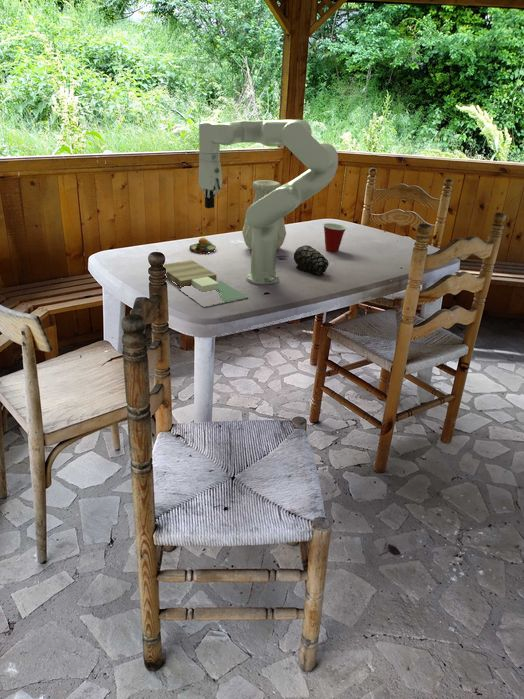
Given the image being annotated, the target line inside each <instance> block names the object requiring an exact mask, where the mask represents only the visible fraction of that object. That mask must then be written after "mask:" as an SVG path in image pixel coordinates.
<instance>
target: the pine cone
mask: <svg viewBox="0 0 524 699" xmlns="http://www.w3.org/2000/svg"><path fill="white" fill-rule="evenodd" d="M293 260H294V262H295V264H296V266H295V269H297V270H298V271H300V272H303V273H305V274H307V275H310V276H313V277H316V278H322V277H324V276H325V273H326V271H327V269H328V267H329V264H330V263H329V261H328V259H327V258H326V257H325V256H324V254H322V253H321V252H320V251H319V250H317V249H315V248H314V247H312V245H307V244H306V245H302V246H299V247H297V249H296V250H295V251H294V253H293Z"/></svg>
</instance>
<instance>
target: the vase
mask: <svg viewBox="0 0 524 699" xmlns="http://www.w3.org/2000/svg"><path fill="white" fill-rule="evenodd" d="M251 186H252V189H253V190H254V191H255V194H254V198H253V202H252V203H251V205H252V204H253V203H255V202H256V201H258V200H259V199H261V198H263V197H264V196H266V195H268V194H269V193H271V192H272V191H274V190H275V189H277V188H278V187H280V186H281V183H280V182H278V181H275V180H267V179H264V180H260V179H259V180H255V181H253V182H252V184H251ZM252 231H253V228H252V227H250V226H249V225H248V223H247V221H246V217H245V218H244V224H243V227H242V231H241V233H242V237H243V240H244V244H245V245H246V246H247V248H249V249H250V250H252ZM286 235H287V231H286V226H285V216H284V217H283V218H281V219H279V223H278V231H277V245H276V251H277V250H278V249H280V248H281V247H282V246H283V244H284V241H285V239H286Z"/></svg>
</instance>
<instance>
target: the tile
mask: <svg viewBox="0 0 524 699" xmlns="http://www.w3.org/2000/svg"><path fill="white" fill-rule="evenodd" d="M218 282H219V281H217V280H216V281H214V280H213V279H211V278H209V277H203V278H198V279H192V286H193V287H194V288H196V289H198V290H199V291H201V292H207V291H212V290H218V289H219V283H218Z"/></svg>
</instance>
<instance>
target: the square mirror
mask: <svg viewBox="0 0 524 699" xmlns="http://www.w3.org/2000/svg"><path fill="white" fill-rule="evenodd" d="M217 282H218V283H219V289H218V291H217V290H216V291H217V292H219V293H221V294H222V295H221V294H219V293H218V294H219V296H220V295H221V296H220V299H221V298H222V301H224V302H228V301H234V300H238V301H242V300H241V299H243V300H246V298H248V299H249V297H248V296H247V295H245V294H243V293H241V292H240V291H238V290H237V289H236V288H233V287H232V286H230V285H228V284H227V283H225V282H224V281H223V280H221V281H220V280H218V281H217ZM234 302H235V301H234ZM222 303H223V302H222Z"/></svg>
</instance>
